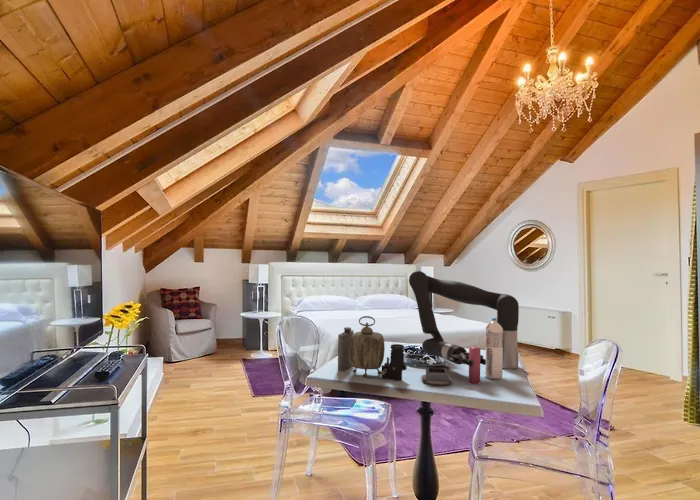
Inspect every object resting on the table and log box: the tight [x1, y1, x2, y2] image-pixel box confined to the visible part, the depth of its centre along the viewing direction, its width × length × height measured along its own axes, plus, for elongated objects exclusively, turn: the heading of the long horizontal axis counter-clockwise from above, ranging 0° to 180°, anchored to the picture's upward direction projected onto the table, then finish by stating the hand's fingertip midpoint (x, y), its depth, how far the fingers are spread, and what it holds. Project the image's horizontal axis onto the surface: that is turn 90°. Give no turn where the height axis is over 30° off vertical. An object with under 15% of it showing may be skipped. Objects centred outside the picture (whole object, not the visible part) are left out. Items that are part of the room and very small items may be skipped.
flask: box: [337, 326, 355, 373], centre depth 188 cm, size 4×14×18 cm, turn 160°
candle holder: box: [421, 366, 453, 387], centre depth 169 cm, size 12×12×4 cm
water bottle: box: [484, 317, 504, 380], centre depth 176 cm, size 7×7×25 cm
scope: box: [380, 343, 407, 382], centre depth 172 cm, size 8×14×10 cm
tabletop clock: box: [348, 315, 385, 378], centre depth 176 cm, size 14×9×25 cm, turn 80°
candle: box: [468, 346, 481, 385], centre depth 168 cm, size 4×4×14 cm
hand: (478, 362), depth 166 cm, fingers open, 5 cm apart
